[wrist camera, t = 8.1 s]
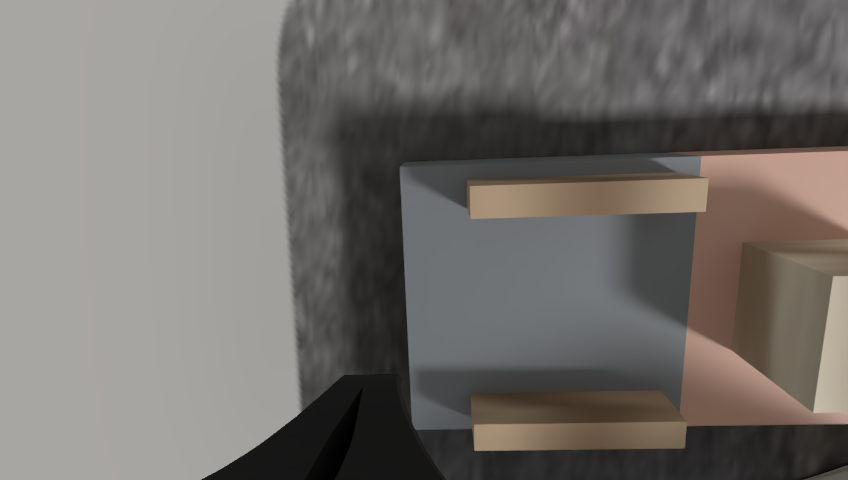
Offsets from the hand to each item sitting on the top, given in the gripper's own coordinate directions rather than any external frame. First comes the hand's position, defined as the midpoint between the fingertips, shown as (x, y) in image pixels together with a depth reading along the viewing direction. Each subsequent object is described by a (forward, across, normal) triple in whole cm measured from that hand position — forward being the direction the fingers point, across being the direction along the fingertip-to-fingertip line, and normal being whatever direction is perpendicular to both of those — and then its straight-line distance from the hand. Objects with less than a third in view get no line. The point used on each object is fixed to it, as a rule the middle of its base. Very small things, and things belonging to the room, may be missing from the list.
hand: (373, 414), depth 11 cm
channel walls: (+7, -6, 0) cm, 9 cm away
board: (+9, -12, 0) cm, 15 cm away
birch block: (+7, -14, 0) cm, 16 cm away
